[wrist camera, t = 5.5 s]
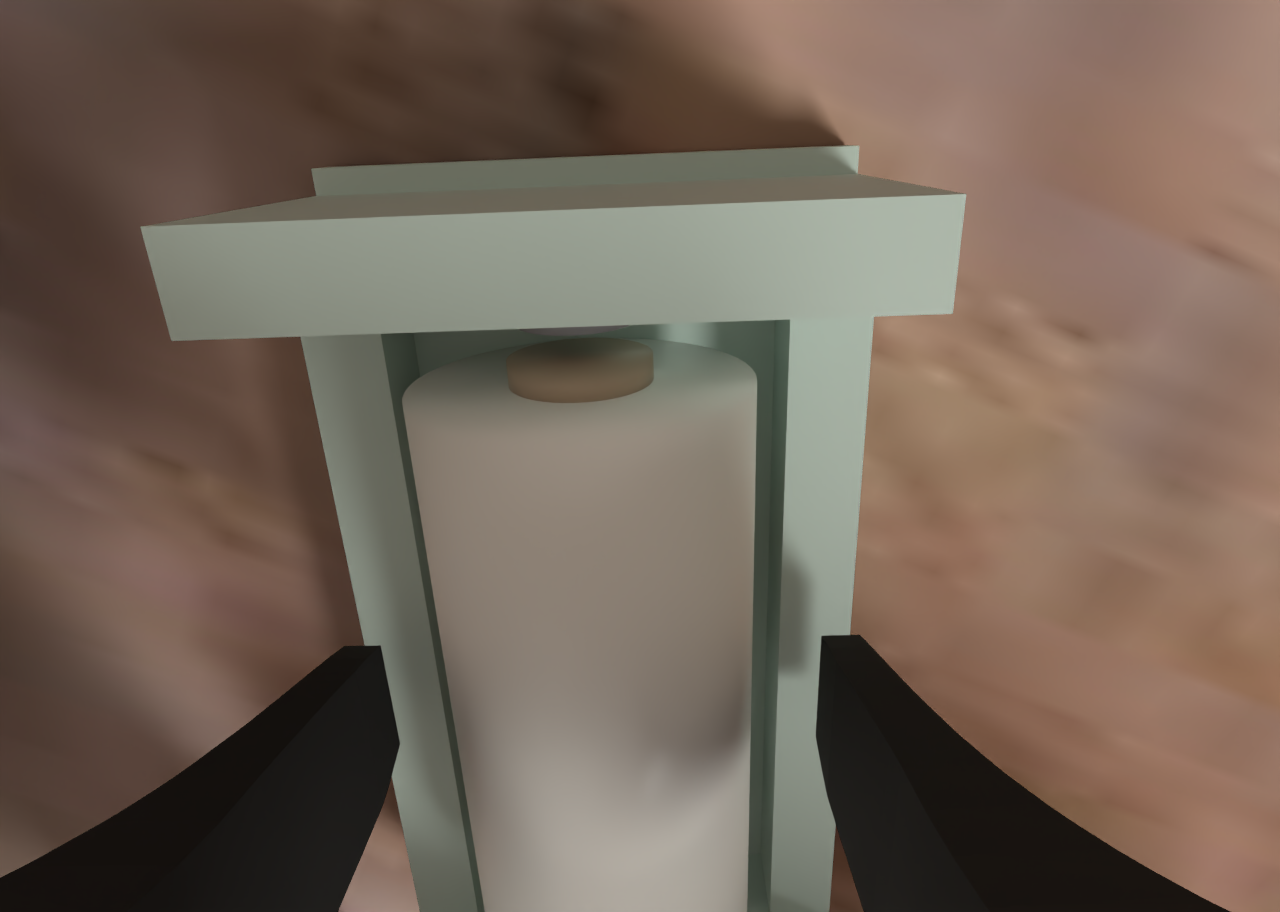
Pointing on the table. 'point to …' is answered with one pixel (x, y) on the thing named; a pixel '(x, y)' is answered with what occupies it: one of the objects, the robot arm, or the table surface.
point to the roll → (596, 615)
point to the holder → (588, 308)
